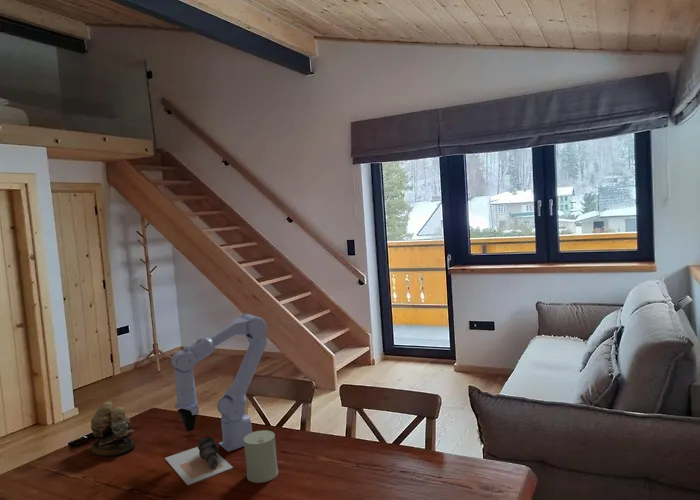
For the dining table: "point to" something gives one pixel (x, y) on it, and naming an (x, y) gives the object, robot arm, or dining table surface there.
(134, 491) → the dining table surface
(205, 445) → the dark grey chess piece
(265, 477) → the can
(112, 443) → the rock sculpture
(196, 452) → the mat
